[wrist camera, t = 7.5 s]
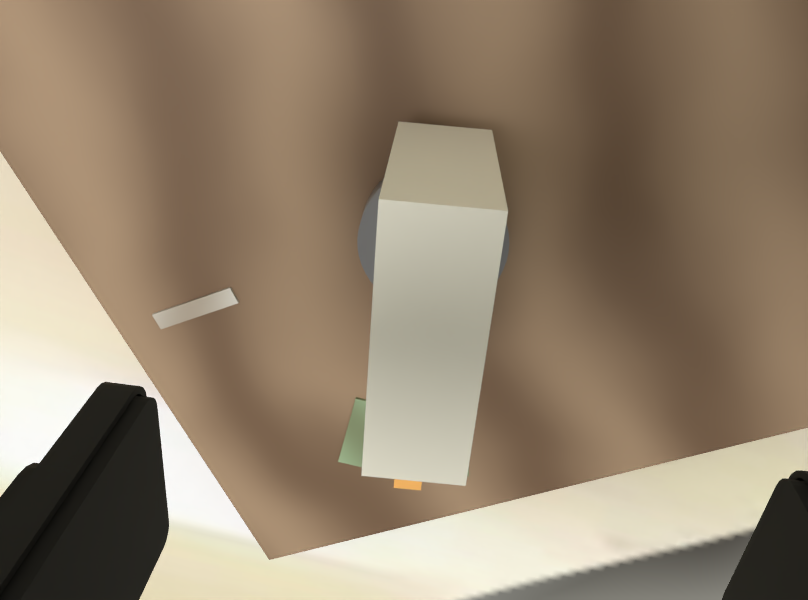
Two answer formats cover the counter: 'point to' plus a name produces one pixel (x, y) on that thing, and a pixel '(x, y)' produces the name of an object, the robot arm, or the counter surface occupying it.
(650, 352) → the dial board
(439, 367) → the knob
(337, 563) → the counter surface
